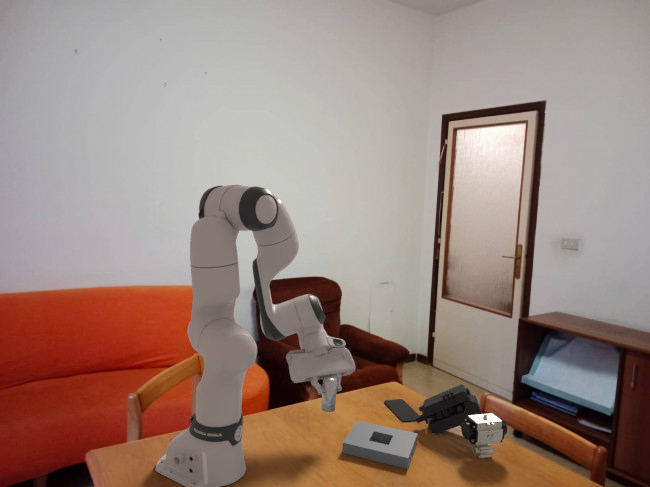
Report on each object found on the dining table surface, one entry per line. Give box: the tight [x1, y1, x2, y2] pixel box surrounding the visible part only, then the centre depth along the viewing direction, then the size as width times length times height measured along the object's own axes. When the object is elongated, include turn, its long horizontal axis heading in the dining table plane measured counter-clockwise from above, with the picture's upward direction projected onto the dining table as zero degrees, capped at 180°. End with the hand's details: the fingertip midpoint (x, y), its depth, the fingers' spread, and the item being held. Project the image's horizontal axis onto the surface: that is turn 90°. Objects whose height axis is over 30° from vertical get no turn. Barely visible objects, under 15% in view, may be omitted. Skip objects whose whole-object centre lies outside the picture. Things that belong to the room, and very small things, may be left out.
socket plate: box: [341, 420, 418, 470], centre depth 134 cm, size 18×14×3 cm
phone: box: [383, 398, 420, 423], centre depth 158 cm, size 7×1×15 cm
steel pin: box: [320, 376, 337, 413], centre depth 135 cm, size 4×4×9 cm
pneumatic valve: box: [460, 412, 508, 460], centre depth 131 cm, size 6×12×12 cm, turn 105°
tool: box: [415, 383, 483, 435], centre depth 144 cm, size 6×19×15 cm, turn 78°
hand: (330, 392), depth 135 cm, fingers closed on steel pin, 4 cm apart
